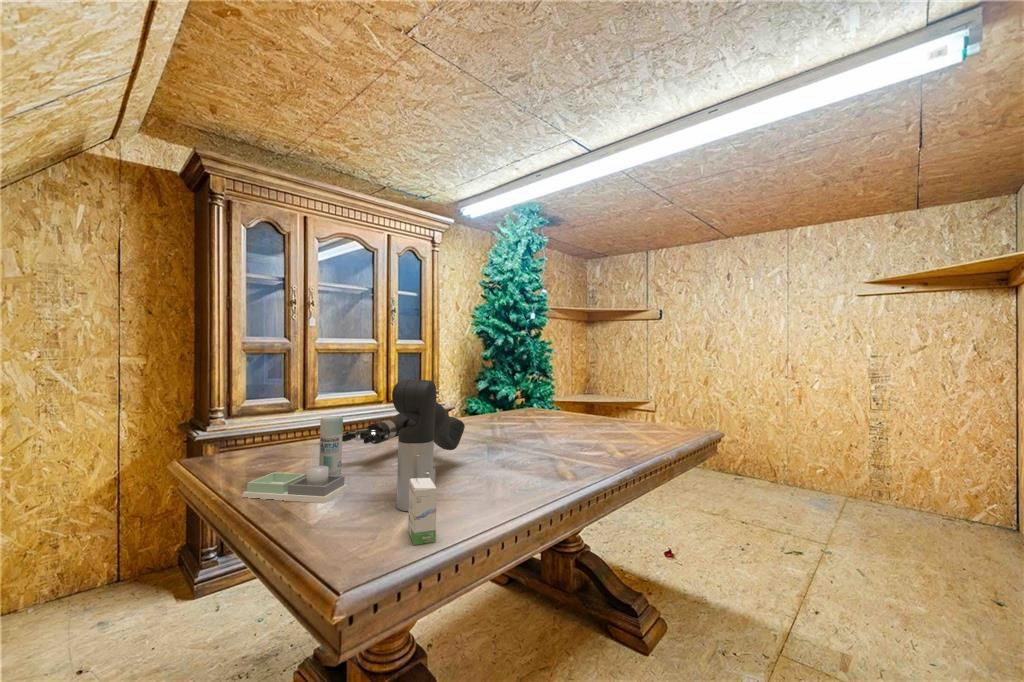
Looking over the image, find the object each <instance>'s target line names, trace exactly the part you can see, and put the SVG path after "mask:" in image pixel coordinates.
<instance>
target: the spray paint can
mask: <svg viewBox="0 0 1024 682" xmlns="http://www.w3.org/2000/svg"><path fill="white" fill-rule="evenodd" d="M319 424H320V427H319V464H318V466H319V465H324V466H328V467H329V468H328V475H331V476H342V456H343V455H342V454H343V453H342V452H343V441H342V436H343V431H344V430H343V429H344V427H343V426H344V418H343V416H342V415H326V416H322V417H320V423H319Z"/></svg>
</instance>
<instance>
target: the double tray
mask: <svg viewBox="0 0 1024 682" xmlns="http://www.w3.org/2000/svg"><path fill="white" fill-rule="evenodd" d="M328 468H329V467H328V466H324V465H319V464H318V465H312V466H309V467H307V468H306V473H293V472H275V471H273V472H271V473H268V474H266V475H264V476H260V477H258V478H255V479H253V480H251V481H248V482H247V485H246V486H247V487H246V490H245V491H243V492H242V498H243V497H248V498H247V499H250V498H260V499H259V500H266V499H274V500H273V501H282V500H284V501H283V502H285V501H286V502H287V501H288V502H301V503H302V502H303V503H317V504H326V503H327V502H329V501H331V500H333V499H334V498H336V497H338V496H339V495H341V494H342V493H344V492H346V491H347V490H349V489H348V488H349V487H348V485H349V484H348V483H347V484H346V483H345V475H341V476H331V475H328Z"/></svg>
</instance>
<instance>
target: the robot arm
mask: <svg viewBox="0 0 1024 682" xmlns="http://www.w3.org/2000/svg"><path fill="white" fill-rule="evenodd" d="M436 386H437V385H436V384H435V382H434V381H433V380H429V379H403V380H400V381H398V382H396V384H395V385H394V387H393V389H392V391H391V400H392V405H393V407H394V409H395V410H396V412H397V414H396V415H394V417H392V418H391V419H388V420H381V421H377V422H373V423H370V424H369V425H368V426H367V427H366V428H364V429H353V430H348V431H345V434H342V443H344V442H348V441H357V442H358V441H363V444H370V443H371V444H373V445H377V444H381V443H383V442H384V443H385V442H386V441H390V440H391V439H394V438H398V444H397V451H398V452H397V474H396V475H397V477H396V478H397V479H396V508H397V509H398V510H400V511H403V512H409V480H410V479H413V478H430V479H431V480H432V482H433V483H434V485H435V486H436V466H435V467H434V448H435V447H434V444H435V445H436V446H438V448H441V449H443V450H447V451H454V450H455V449H457V448H458V446H459V444H460V441H461V439H462V437H463V434H464V431H465V428H466V427H465V426H466V425H465V423H464V421H462V420H461V419H459V418H456V417H454V416H450V415H449V412H448V411H447V410H446V409H445V408H444V406H443V405H442V404H441V403H439V402H437V392H438V391H437V387H436Z"/></svg>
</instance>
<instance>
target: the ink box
mask: <svg viewBox="0 0 1024 682" xmlns="http://www.w3.org/2000/svg"><path fill="white" fill-rule="evenodd" d="M437 489H438V488H437V487H436V484H435V485H434V483H433V482H432V480H431V479H430V478H413V479H410V480H409V511H408V518H407V519H408V522H407V526H408V527H407V531H408V534H409V536H410V539H411V541H412V545H414V546H418V544H419V545H424V544H423V543H426V544H430V543H429V542H432V543H436V542H435V541H437V540H436V538H437V537H436V536H437Z"/></svg>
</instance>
